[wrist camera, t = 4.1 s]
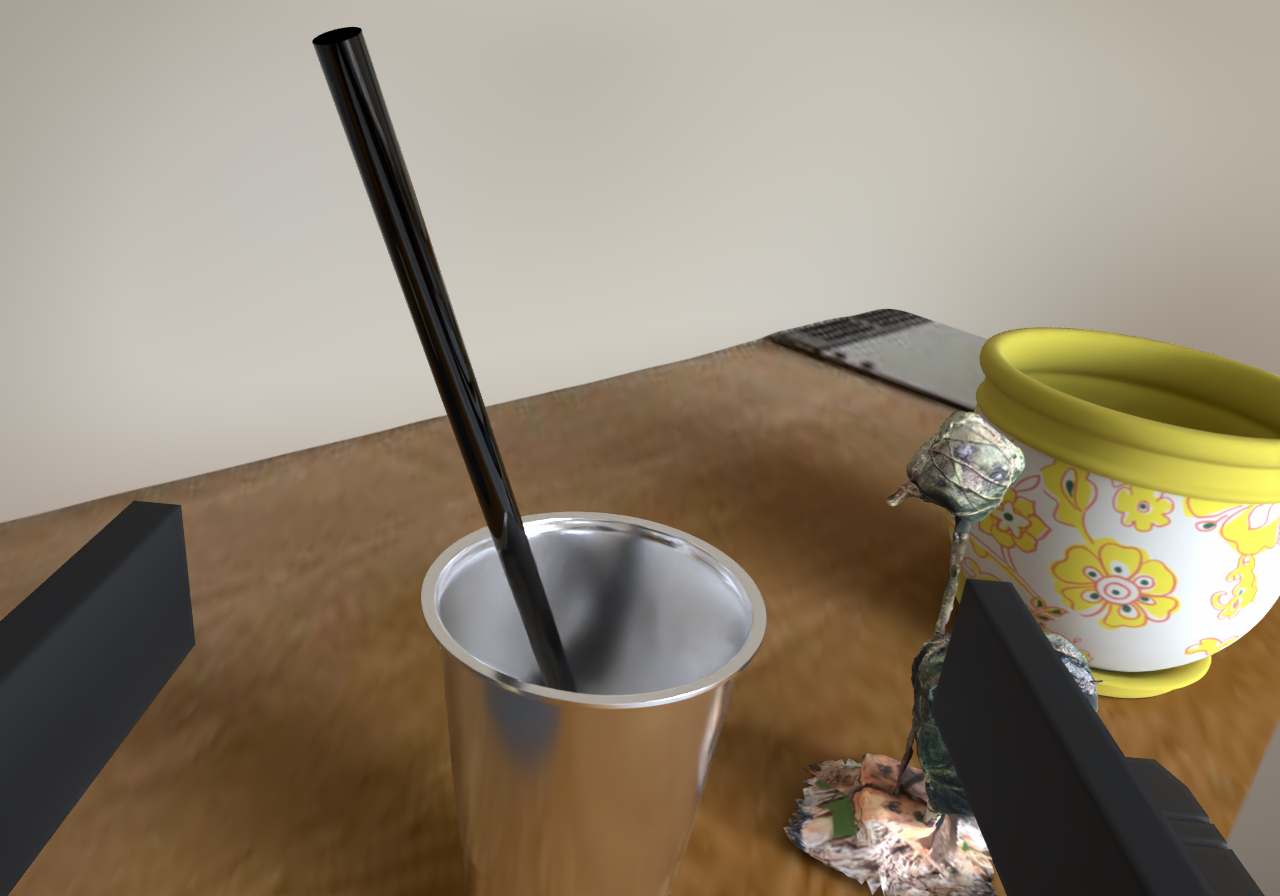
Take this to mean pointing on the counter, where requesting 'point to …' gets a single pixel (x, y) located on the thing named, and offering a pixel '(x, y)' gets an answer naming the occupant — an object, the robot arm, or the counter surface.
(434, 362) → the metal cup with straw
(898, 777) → the decorative sculpture
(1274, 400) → the flowerpot
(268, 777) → the counter surface
